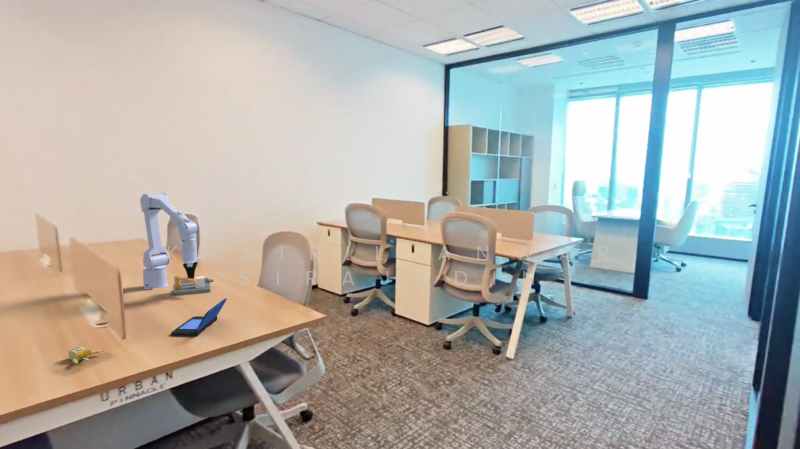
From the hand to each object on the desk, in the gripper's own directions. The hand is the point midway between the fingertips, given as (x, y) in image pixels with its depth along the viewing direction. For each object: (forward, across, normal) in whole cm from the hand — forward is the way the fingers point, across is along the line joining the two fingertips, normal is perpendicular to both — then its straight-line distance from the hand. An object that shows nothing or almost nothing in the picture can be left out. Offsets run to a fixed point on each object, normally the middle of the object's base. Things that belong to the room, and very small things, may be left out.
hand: (191, 279), depth 182 cm
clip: (+5, 0, +2) cm, 5 cm away
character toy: (+8, -57, +28) cm, 64 cm away
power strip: (+7, +4, 0) cm, 8 cm away
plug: (+7, +4, -5) cm, 9 cm away
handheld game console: (+7, -42, -4) cm, 43 cm away
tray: (+7, +15, -1) cm, 17 cm away
